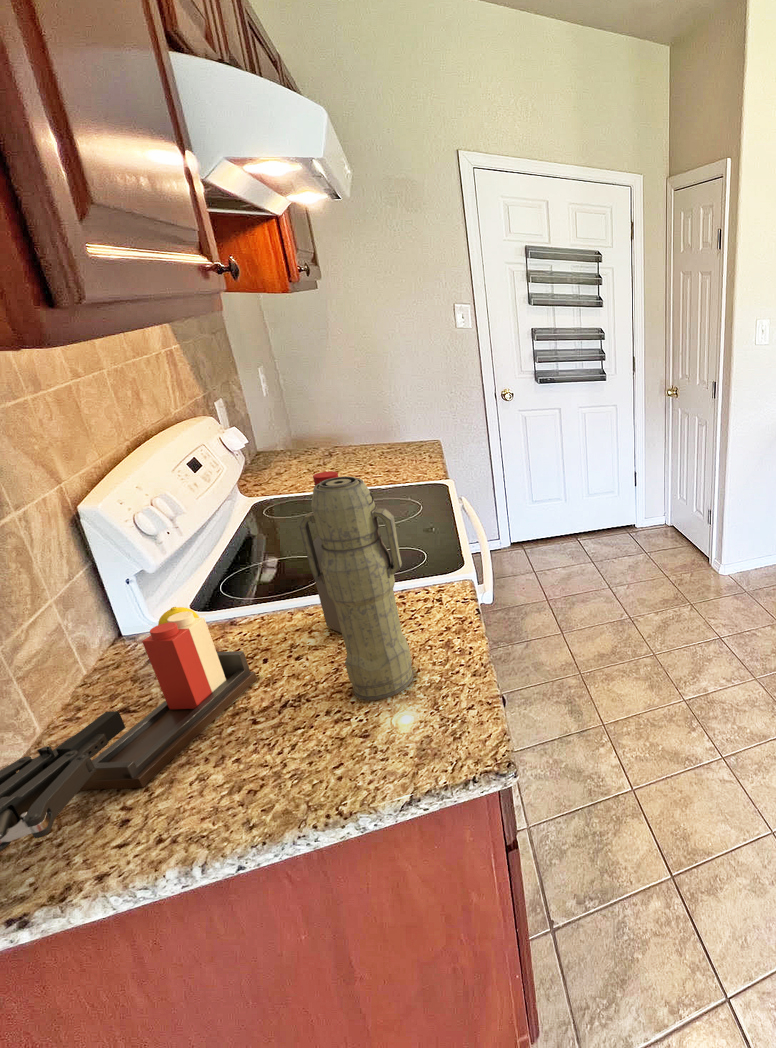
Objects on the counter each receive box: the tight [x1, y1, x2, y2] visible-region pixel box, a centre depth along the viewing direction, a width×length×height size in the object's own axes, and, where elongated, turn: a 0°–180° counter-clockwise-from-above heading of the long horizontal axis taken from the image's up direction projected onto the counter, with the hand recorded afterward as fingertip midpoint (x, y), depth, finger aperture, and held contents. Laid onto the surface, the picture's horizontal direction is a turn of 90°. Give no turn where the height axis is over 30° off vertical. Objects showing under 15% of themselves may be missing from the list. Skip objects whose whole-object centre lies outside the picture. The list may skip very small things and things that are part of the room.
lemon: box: [157, 606, 200, 626], centre depth 100 cm, size 6×6×8 cm
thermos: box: [298, 476, 414, 701], centre depth 87 cm, size 9×12×35 cm
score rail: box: [79, 650, 258, 791], centre depth 82 cm, size 8×22×6 cm, turn 5°
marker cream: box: [167, 612, 226, 693], centre depth 86 cm, size 4×3×13 cm
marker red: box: [141, 622, 212, 710], centre depth 83 cm, size 4×3×13 cm
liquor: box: [312, 470, 342, 634], centre depth 105 cm, size 9×9×30 cm
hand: (115, 719), depth 74 cm, fingers closed
